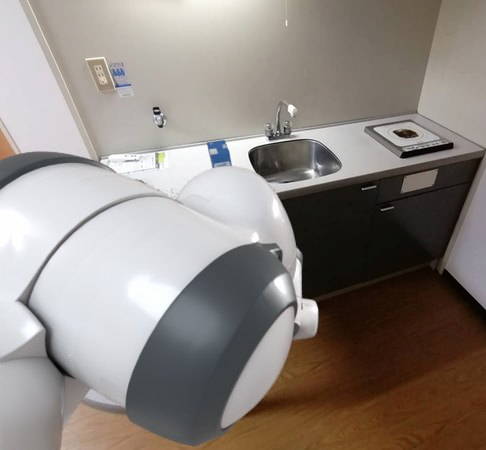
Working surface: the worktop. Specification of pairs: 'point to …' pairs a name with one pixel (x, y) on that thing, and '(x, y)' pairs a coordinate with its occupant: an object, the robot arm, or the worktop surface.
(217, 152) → the milk carton
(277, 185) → the worktop surface
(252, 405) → the robot arm
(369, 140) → the worktop surface
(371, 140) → the worktop surface
